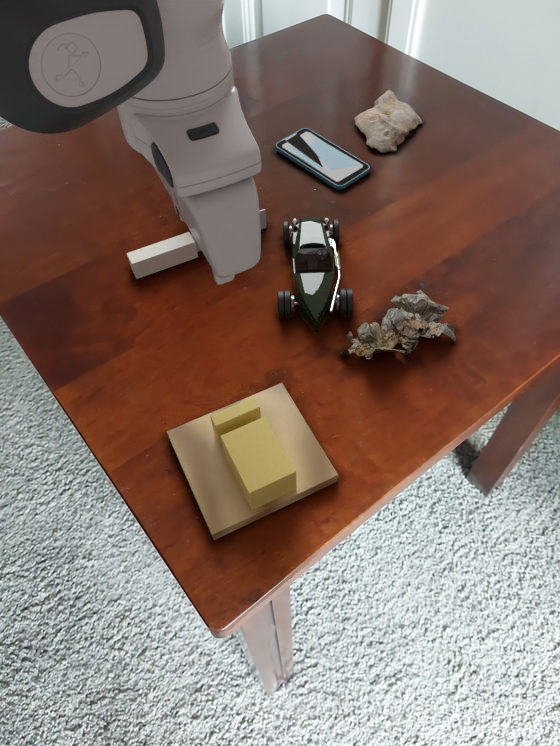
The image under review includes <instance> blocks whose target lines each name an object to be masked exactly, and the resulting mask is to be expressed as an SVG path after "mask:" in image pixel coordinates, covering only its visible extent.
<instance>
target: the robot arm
mask: <svg viewBox="0 0 560 746" xmlns="http://www.w3.org/2000/svg"><path fill="white" fill-rule="evenodd" d="M224 8H225V0H0V118H1V119H3V120H4V121H6V122H7V123H9V124H11V125H13V126H15V127H18V128H20V129H23V130H25V131H28V132H33V133H37V134H45V135H47V134H49V135H50V134H52V135H53V134H61V133H67V132H71V131H74V130H78V129H79V128H82V127H84V126H86V125H88V124H90V123H92V122H94V121H95V120H97V119H99V118H101V117H102V116H104V115H105V114H107V113H109V112H111V111H113V110H114V109H115V108H116V111H117V113H118V118H119V121H120V125H121V128H122V132H123V136H124V138H125V141H126V142H127V144H128V145H129V146H130V147H131V148H132V149H133V150H134V151H136V152H137V153H139V154H141V155H142V156H143V157H144V158H145V159H146V161H148V162H149V163H150V165H152V167H153V169H154V171H155V173H156V175H157V176H158V178H159V180H160V181H161V183H162V184H163V187H164V188H165V190H166V191H167V194H168V195H169V196H170V199H171V200H172V203H173V207H174V211H175V213H176V215H177V217H178V218H179V220H180V221H181V222H182V223H185V224H186V226H187V228H188V229H189V232H190V234H191V236H192V235H193V237H194V238H195V240H196V242H197V244H198V245H199V247H200V249H201V250H202V251H201V253H202V254H203V257H205V259H206V261H207V263H208V267H209V272H210V274H211V276H212V278H213V280H214V282H215V283H216V284H217V285H223V284H227V283H229V282H231V281H233V280H234V279H235V277H236V275H237V274H240V273H243V272H245V271H248V270H250V269H252V268H254V267H255V266H257V264H258V263H259V261H260V259H261V254H262V233H261V232H262V231H261V230H262V229H261V227H260V210H261V209H260V201H259V194H258V189H257V185H256V181H255V179H254V176H255V175H258V174H260V173H261V172H262V167H263V166H262V164H263V163H262V154H261V151H260V147H259V145H258V143H257V141H256V138H255V136H254V133H253V132H252V130H251V127H250V126H249V125H250V124H249V123H248V121H247V118H246V117H245V115H244V111H243V109H242V106H241V102H240V97H239V91H238V89H237V87H236V86H235V79H234V69H233V67H234V66H233V59H232V53H231V50H230V46H229V44H228V42H227V39H226V36H225V33H224V27H223V13H224Z"/></svg>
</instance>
